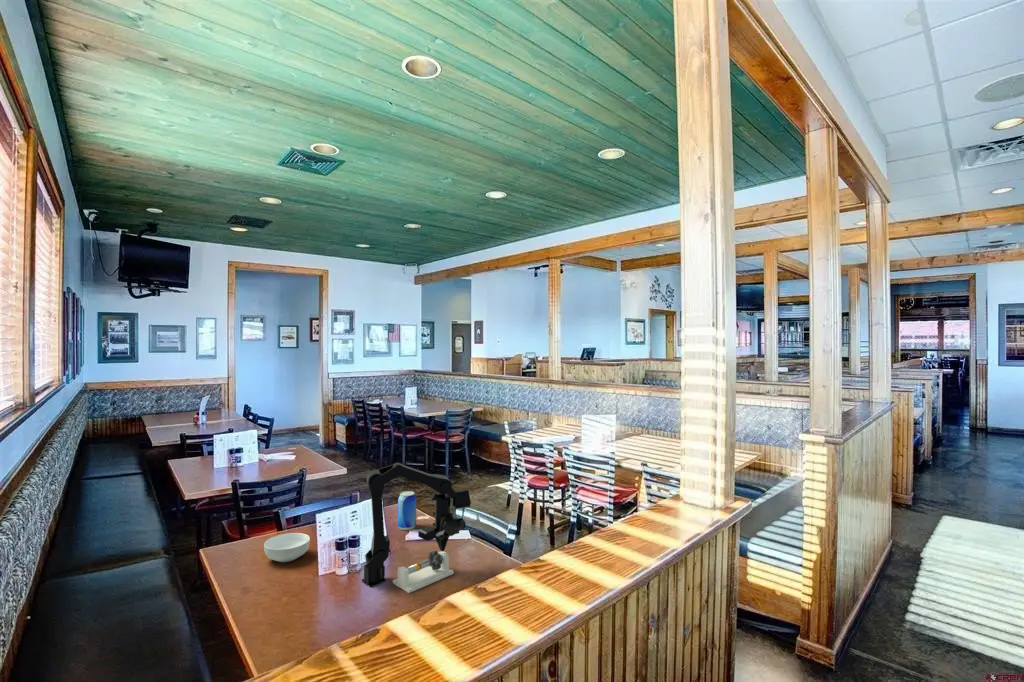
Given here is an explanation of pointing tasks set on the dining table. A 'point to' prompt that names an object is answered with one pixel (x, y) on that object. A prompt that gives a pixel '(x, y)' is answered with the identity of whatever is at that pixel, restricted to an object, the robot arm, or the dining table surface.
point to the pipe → (422, 565)
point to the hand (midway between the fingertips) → (442, 551)
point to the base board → (422, 575)
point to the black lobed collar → (437, 557)
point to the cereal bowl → (286, 546)
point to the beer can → (407, 510)
